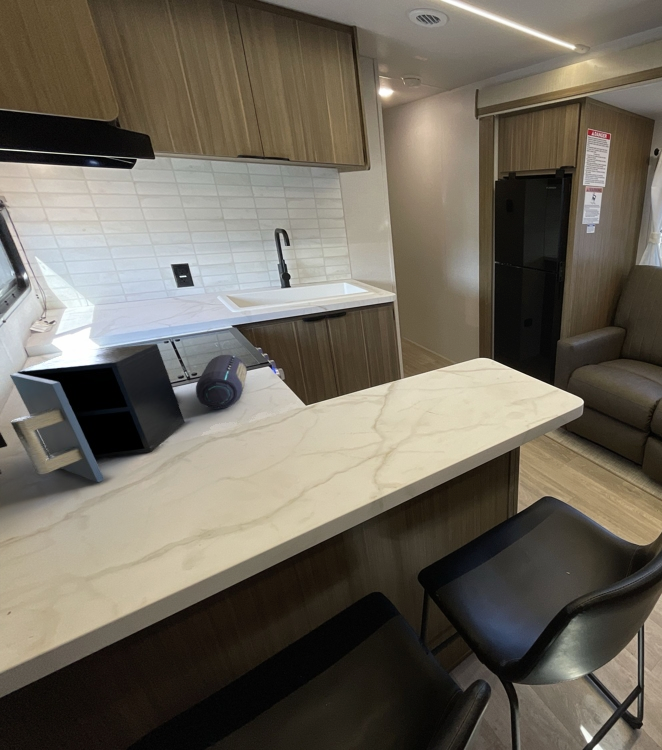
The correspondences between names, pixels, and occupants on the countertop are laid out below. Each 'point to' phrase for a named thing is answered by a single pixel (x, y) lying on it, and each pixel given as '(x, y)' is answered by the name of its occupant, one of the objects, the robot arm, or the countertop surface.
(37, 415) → the freezer door
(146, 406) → the box
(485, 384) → the countertop surface
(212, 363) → the portable speaker
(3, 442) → the robot arm
